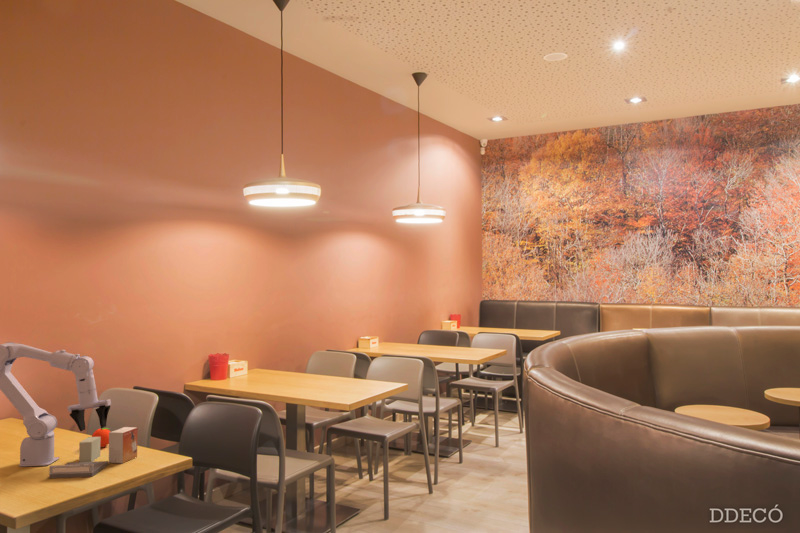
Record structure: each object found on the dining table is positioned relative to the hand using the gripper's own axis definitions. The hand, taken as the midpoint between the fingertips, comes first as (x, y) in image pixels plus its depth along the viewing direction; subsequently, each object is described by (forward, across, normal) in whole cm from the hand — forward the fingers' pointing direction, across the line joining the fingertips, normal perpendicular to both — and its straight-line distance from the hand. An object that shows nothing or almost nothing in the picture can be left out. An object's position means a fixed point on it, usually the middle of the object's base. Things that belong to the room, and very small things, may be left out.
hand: (93, 428), depth 196 cm
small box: (+12, -9, +1) cm, 16 cm away
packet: (+10, +3, 0) cm, 11 cm away
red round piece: (+10, +7, -15) cm, 20 cm away
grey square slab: (+10, -2, +13) cm, 17 cm away
